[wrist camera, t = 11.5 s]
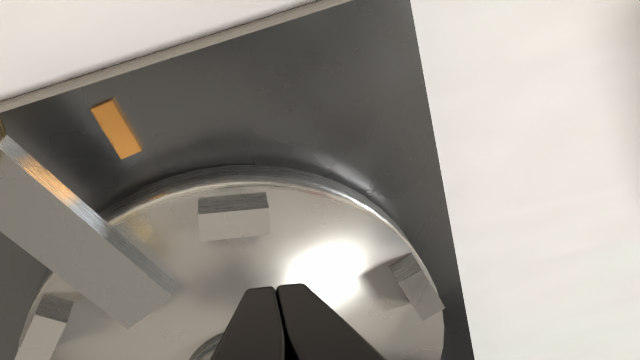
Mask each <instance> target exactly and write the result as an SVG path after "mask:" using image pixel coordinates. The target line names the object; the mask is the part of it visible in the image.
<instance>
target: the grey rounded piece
mask: <svg viewBox="0 0 640 360" xmlns="http://www.w3.org/2000/svg"><path fill="white" fill-rule="evenodd" d="M0 231H1V232H2V233H3V234H4V235H6V236H7V237H8V238H10V239H11V240H12V241H14V242H15V243H16V244H17V245H19V246H20V247H21V248H23V249H24V250H25V251H27V252H28V253H29V254H30V255H32V256H33V257H34V258H36V259H37V260H38V261H40V262H41V263H42V264H43V265H45V266H46V267H47V268H49V270H48V272H47V274H46V276H45V277H44V279H43V281H42V283H41V286H40V288H39V290H38V293H37V295H36V298H35V300H34V302H33V305H32V307H31V309H30V312H29V314H28V316H27V319H26V322H25V325H24V328H23V331H22V334H21V337H20V339H19V346H18V352H17V354H16V357H15V359H14V360H210V358H211V356H212V355H213V353H214V351H215V349H216V347H217V345H218V343H219V341H220V339H221V337H222V335H223V333H224V331H225V329H226V327H227V326H228V324H229V322H230V320H231V318H232V316H233V314H234V312H235V310H236V308H237V306H238V304H239V302H240V300H241V298H242V297H243V295H244V293H245V291H246V290H247V289H250V288H258V287H267V286H272V287H274V288H275V290H276V288H277V287H278V286H279V285H285V284H294V283H304V284H306V285H307V286H308V287H309V288H310V289H311V290H312V291H314V292H315V293H316V294H317V295H318V296H319V297H320V298H321V299H322V300H323V301H324V302H325V303H327V304H328V305H329V306H330V307H331V308H332V309H333V310H334V311H335V312H336V313H337V314H338V315H339V316H341V317H342V318H343V319H344V320H345V321H346V322H347V323H348V324H349V325H350V326H351V327H352V328H354V329H355V330H356V331H357V332H358V333H359V334H360V335H361V336H362V337H363V338H364V339H365V340H367V341H368V342H369V343H370V344H371V345H372V346H373V347H374V348H375V349H376V350H377V351H378V352H380V353H381V354H382V355H383V356H384V357H385V358H386V359H387V360H440V359H441V354H442V350H443V340H444V321H443V312H442V310H443V309H445V307H444V305H443V303H442V302H441V300H440V298H439V296H438V292H437V289H436V287H435V285H434V283H433V281H432V279H431V276H430V274H429V272H428V270H427V269H426V267H425V265H424V264H423V262H422V261H421V259H420V257H419V256H418V254H417V252H416V251H415V249H414V248H413V246H412V244H411V243H410V241H409V240H408V238H407V237H406V236H405V234H404V233H403V232H402V230H401V229H400V227H399V226H398V225H397V224H396V223H395V222H394V221H393V220H392V219H391V218H390V217H389V216H388V215H387V214H386V213H385V212H384V211H383V210H382V209H381V208H380V207H379V206H377V205H376V204H374V203H373V202H372V201H370V200H369V199H368V198H366V197H365V196H364V195H362V194H360V193H358V192H356V191H354V190H353V189H351V188H349V187H347V186H345V185H343V184H341V183H339V182H336V181H334V180H331V179H328V178H325V177H323V176H320V175H317V174H314V173H310V172H305V171H301V170H297V169H292V168H287V167H278V166H268V165H227V166H219V167H212V168H205V169H198V170H194V171H190V172H186V173H183V174H179V175H175V176H171V177H168V178H165V179H163V180H160V181H158V182H155V183H152V184H150V185H147V186H145V187H142V188H140V189H138V190H136V191H134V192H132V193H131V194H129V195H127V196H125V197H123V198H121V199H119V200H118V201H116V202H114V203H113V204H111V205H110V206H108V207H107V208H106V209H104V210H103V211H102V212H100V213H99V214H97V213H96V212H95V211H94V210H92V209H91V208H90V207H89V206H88V205H87V204H86V203H84V202H83V201H82V200H81V199H80V198H79V197H78V196H76V195H75V194H74V193H73V192H72V191H71V190H70V189H68V188H67V187H66V186H65V185H64V184H63V183H62V182H60V181H59V180H58V179H57V178H56V177H55V176H54V175H52V174H51V173H50V172H49V171H48V170H47V169H46V168H44V167H43V166H42V165H41V164H40V163H39V162H38V161H36V160H35V159H34V158H33V157H32V156H31V155H30V154H28V153H27V152H26V151H25V150H24V149H23V148H22V147H20V146H19V145H18V144H17V143H16V142H15V141H14V140H12V139H11V138H10V137H9V136H8V135H7V133H6V129H5V126H4V123H3V121H2V119H1V118H0Z"/></svg>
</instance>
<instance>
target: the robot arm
mask: <svg viewBox="0 0 640 360" xmlns="http://www.w3.org/2000/svg"><path fill="white" fill-rule="evenodd" d="M210 360H387V359H386V358H385V357H384V356H383V355H382V354H381V353H380V352H378V351H377V350H376V349H375V348H374V347H373V346H372V345H371V344H370V343H369V342H368V341H367V340H365V339H364V338H363V337H362V336H361V335H360V334H359V333H358V332H357V331H356V330H355V329H354V328H352V327H351V326H350V325H349V324H348V323H347V322H346V321H345V320H344V319H343V318H342V317H341V316H339V315H338V314H337V313H336V312H335V311H334V310H333V309H332V308H331V307H330V306H329V305H328V304H327V303H325V302H324V301H323V300H322V299H321V298H320V297H319V296H318V295H317V294H316V293H315V292H314V291H312V290H311V289H310V288H309V287H308V286H307V285H306V284H304V283H294V284H285V285H279V286H278V287H277V288H276V290H275V288H274V287H272V286H267V287H258V288H250V289H247V290H246V291H245V293H244V295H243V297H242V298H241V300H240V302H239V304H238V306H237V308H236V310H235V312H234V314H233V316H232V318H231V320H230V322H229V324H228V326H227V327H226V329H225V331H224V333H223V335H222V337H221V339H220V341H219V343H218V345H217V347H216V349H215V351H214V353H213V355H212V356H211V358H210Z"/></svg>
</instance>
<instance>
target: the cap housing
mask: <svg viewBox="0 0 640 360" xmlns="http://www.w3.org/2000/svg"><path fill="white" fill-rule="evenodd" d="M0 118H1V119H2V121H3V123H4V126H5V129H6V133H7V135H8V136H9V137H10V138H11V139H12V140H14V141H15V142H16V143H17V144H18V145H19V146H20V147H22V148H23V149H24V150H25V151H26V152H27V153H28V154H30V155H31V156H32V157H33V158H34V159H35V160H36V161H38V162H39V163H40V164H41V165H42V166H43V167H44V168H46V169H47V170H48V171H49V172H50V173H51V174H52V175H54V176H55V177H56V178H57V179H58V180H59V181H60V182H62V183H63V184H64V185H65V186H66V187H67V188H68V189H70V190H71V191H72V192H73V193H74V194H75V195H76V196H78V197H79V198H80V199H81V200H82V201H83V202H84V203H86V204H87V205H88V206H89V207H90V208H91V209H92V210H94V211H95V212H96V213H97V214H99V213H100V212H102V211H103V210H104V209H106V208H107V207H108V206H110V205H111V204H113V203H114V202H116V201H118V200H119V199H121V198H123V197H125V196H127V195H129V194H131V193H132V192H134V191H136V190H138V189H140V188H142V187H145V186H147V185H150V184H152V183H155V182H158V181H160V180H163V179H165V178H168V177H171V176H175V175H179V174H183V173H186V172H190V171H194V170H198V169H205V168H212V167H219V166H227V165H268V166H278V167H287V168H292V169H297V170H301V171H305V172H310V173H314V174H317V175H320V176H323V177H325V178H328V179H331V180H334V181H336V182H339V183H341V184H343V185H345V186H347V187H349V188H351V189H353V190H354V191H356V192H358V193H360V194H362V195H364V196H365V197H366V198H368V199H369V200H370V201H372V202H373V203H374V204H376V205H377V206H379V207H380V208H381V209H382V210H383V211H384V212H385V213H386V214H387V215H388V216H389V217H390V218H391V219H392V220H393V221H394V222H395V223H396V224H397V225H398V226H399V227H400V229H401V230H402V232H403V233H404V234H405V236H406V237H407V238H408V240H409V241H410V243H411V244H412V246H413V248H414V249H415V251H416V252H417V254H418V256H419V257H420V259H421V261H422V262H423V264H424V265H425V267H426V269H427V270H428V272H429V274H430V276H431V279H432V281H433V283H434V285H435V287H436V289H437V292H438V296H439V298H440V300H441V302H442V303H443V305H444V307H445V309H443V310H442V312H443V321H444V340H443V350H442V354H441V359H440V360H474V354H473V349H472V343H471V338H470V332H469V327H468V321H467V315H466V310H465V304H464V299H463V293H462V288H461V282H460V276H459V271H458V265H457V260H456V254H455V249H454V243H453V237H452V232H451V226H450V221H449V215H448V210H447V204H446V198H445V193H444V187H443V182H442V176H441V171H440V165H439V159H438V154H437V148H436V143H435V137H434V132H433V126H432V120H431V115H430V109H429V104H428V98H427V93H426V87H425V81H424V76H423V70H422V65H421V59H420V54H419V48H418V42H417V37H416V31H415V26H414V20H413V15H412V9H411V3H410V0H319V1H316V2H313V3H310V4H306V5H303V6H300V7H297V8H294V9H291V10H288V11H284V12H281V13H278V14H275V15H272V16H269V17H266V18H262V19H259V20H256V21H253V22H250V23H247V24H244V25H240V26H237V27H234V28H231V29H228V30H225V31H222V32H218V33H215V34H212V35H209V36H206V37H203V38H200V39H196V40H193V41H190V42H187V43H184V44H181V45H178V46H174V47H171V48H168V49H165V50H162V51H159V52H156V53H152V54H149V55H146V56H143V57H140V58H137V59H134V60H130V61H127V62H124V63H121V64H118V65H115V66H112V67H108V68H105V69H102V70H99V71H96V72H93V73H90V74H86V75H83V76H80V77H77V78H74V79H71V80H68V81H64V82H61V83H58V84H55V85H52V86H49V87H46V88H42V89H39V90H36V91H33V92H30V93H27V94H24V95H20V96H17V97H14V98H11V99H8V100H5V101H2V102H0ZM48 270H49V268H47V267H46V266H45V265H43V264H42V263H41V262H40V261H38V260H37V259H36V258H34V257H33V256H32V255H30V254H29V253H28V252H27V251H25V250H24V249H23V248H21V247H20V246H19V245H17V244H16V243H15V242H14V241H12V240H11V239H10V238H8V237H7V236H6V235H4V234H3V233H2V232H1V231H0V360H14V359H15V357H16V354H17V352H18V346H19V339H20V337H21V334H22V331H23V328H24V325H25V322H26V319H27V316H28V314H29V312H30V309H31V307H32V305H33V302H34V300H35V298H36V295H37V293H38V290H39V288H40V286H41V283H42V281H43V279H44V277H45V276H46V274H47V272H48Z"/></svg>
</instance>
